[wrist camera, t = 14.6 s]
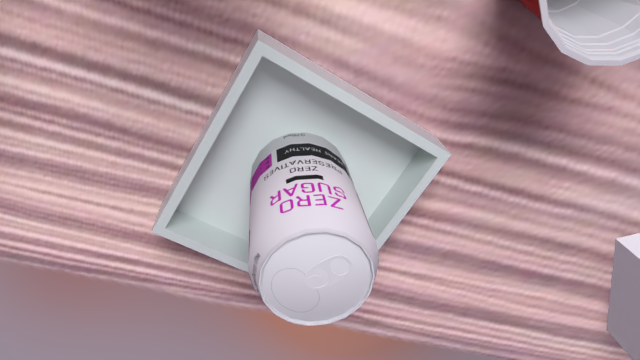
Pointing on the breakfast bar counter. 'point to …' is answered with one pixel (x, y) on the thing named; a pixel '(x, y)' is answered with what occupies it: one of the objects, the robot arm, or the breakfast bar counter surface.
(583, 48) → the plastic cup
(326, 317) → the supplement can
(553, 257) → the breakfast bar counter surface
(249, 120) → the sage bin
